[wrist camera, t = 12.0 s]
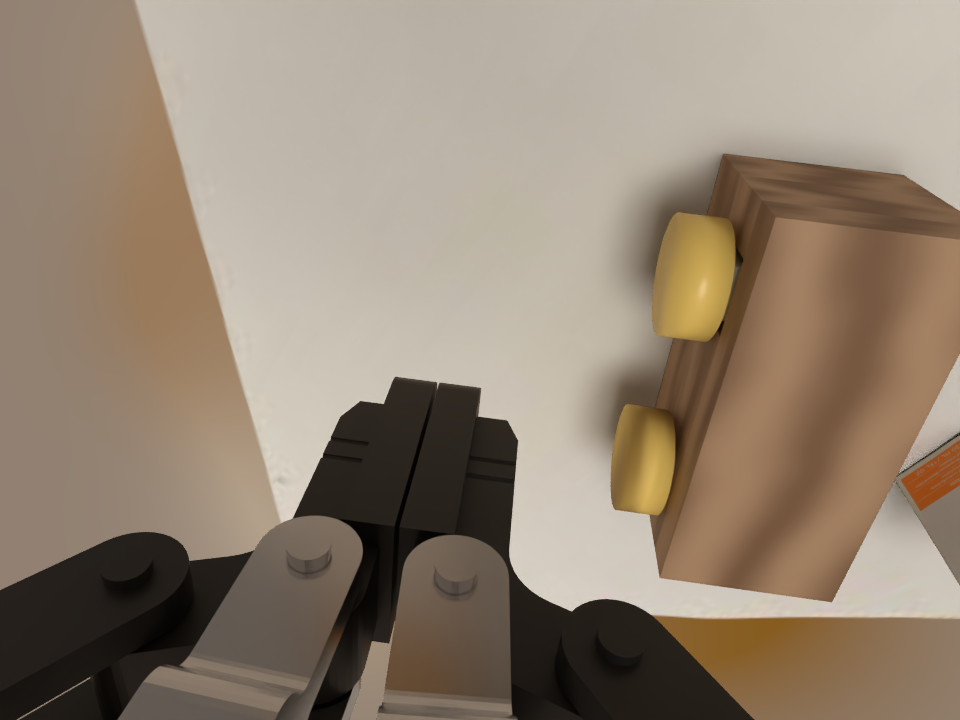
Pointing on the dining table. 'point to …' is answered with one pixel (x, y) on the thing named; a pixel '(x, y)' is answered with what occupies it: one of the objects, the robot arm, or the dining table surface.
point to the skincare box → (938, 499)
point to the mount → (797, 380)
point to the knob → (694, 277)
